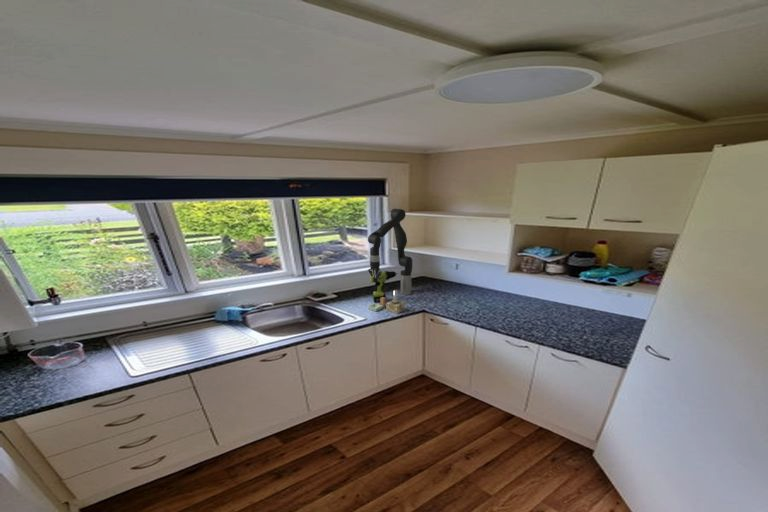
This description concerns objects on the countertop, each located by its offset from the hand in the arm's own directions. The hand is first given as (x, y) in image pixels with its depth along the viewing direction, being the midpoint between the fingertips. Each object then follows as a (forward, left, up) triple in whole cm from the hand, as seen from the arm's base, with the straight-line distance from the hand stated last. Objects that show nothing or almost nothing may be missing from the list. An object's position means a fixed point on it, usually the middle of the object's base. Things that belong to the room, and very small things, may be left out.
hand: (375, 281), depth 242 cm
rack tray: (+7, +6, -19) cm, 21 cm away
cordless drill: (-11, 0, -19) cm, 22 cm away
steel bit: (0, +20, -19) cm, 27 cm away
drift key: (0, +8, -19) cm, 20 cm away
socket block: (0, +20, -19) cm, 27 cm away
